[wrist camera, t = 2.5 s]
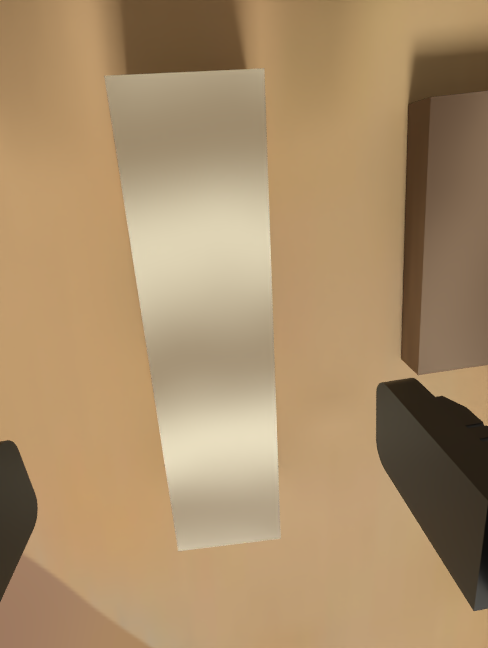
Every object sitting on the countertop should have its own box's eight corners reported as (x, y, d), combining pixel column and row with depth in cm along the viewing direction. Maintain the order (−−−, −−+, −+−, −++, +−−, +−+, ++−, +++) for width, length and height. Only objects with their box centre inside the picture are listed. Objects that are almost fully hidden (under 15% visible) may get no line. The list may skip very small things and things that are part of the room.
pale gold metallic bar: (130, 101, 14) (104, 75, 10) (248, 95, 14) (264, 68, 10) (183, 478, 20) (178, 551, 16) (266, 469, 20) (280, 538, 16)
